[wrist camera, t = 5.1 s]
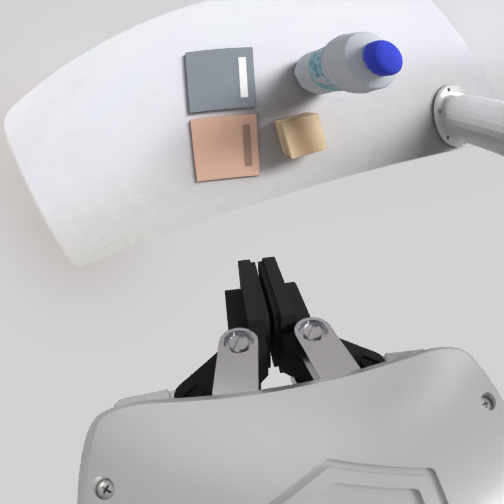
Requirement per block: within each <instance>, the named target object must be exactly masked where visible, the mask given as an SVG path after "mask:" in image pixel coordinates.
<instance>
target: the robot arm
mask: <svg viewBox="0 0 504 504" xmlns="http://www.w3.org/2000/svg"><path fill="white" fill-rule="evenodd" d="M434 121H435V125H436V128H437V131H438V133H439V135H440V136H441V138H442V139H443V140H444V141H445V142H446V143H447V144H448V145H451V146H453V147H461V146H464V145H465V144H466V143H469V144H472V145H475V146H478V147H481V148H484V149H486V150H489V151H492V152H495V153H497V154H499V155H502V156H504V101H503V100H499V99H494V98H488V97H483V96H476V95H470V94H467V93H466V92H465V91H464V90H463V89H462V88H461V87H459V86H456V85H445V86H443V87H442V88H441V89H440V90H439V91H438V93H437V95H436V98H435V102H434ZM238 267H239V277H240V286H241V287H240V288H241V289H235V290H226V291H225V297H226V309H227V320H228V331H227V332H225V333H224V334H223V335H222V336H221V338H220V341H219V347H218V352H217V353H216V354H215V355H214V356H213V357H211V358H210V359H209V360H208V361H207V362H206V363H205V364H203V365H202V366H201V367H200V368H199V369H198V370H197V371H195V372H194V373H193V374H192V375H191V376H190V377H188V378H187V379H186V380H185V381H184V382H182V383H181V384H180V385H179V387H177V389H176V390H174V391H170V392H169V391H168V390H163V391H158V392H154V393H149V394H144V395H139V396H134V397H129V398H124V399H121V400H119V401H118V402H117V403H116V404H115V405H114V407H113V408H111V409H109V410H106V411H105V412H103V413H101V414H100V415H99V416H97V417H96V418H95V420H94V421H93V423H92V424H91V426H90V428H89V430H88V433H87V436H86V440H85V443H84V448H83V452H82V458H81V464H80V471H79V483H78V500H77V504H504V401H503V399H502V397H501V396H500V394H499V393H498V391H497V389H496V387H495V386H494V384H493V383H492V382H491V380H490V378H489V377H488V376H487V374H486V373H485V371H484V370H483V369H482V368H481V366H480V365H479V364H478V363H477V361H476V360H475V359H474V358H473V357H472V356H471V355H470V354H469V353H467V352H466V351H464V350H462V349H459V348H453V347H440V348H431V349H427V350H414V351H405V352H395V353H386V354H385V356H381V355H380V354H378V353H376V352H374V351H371V350H368V349H366V348H363V347H360V346H358V345H355V344H353V343H350V342H348V341H345V340H342V339H340V338H338V336H337V335H336V333H335V332H334V330H333V329H332V328H331V326H330V325H329V324H328V323H327V322H326V321H324V320H323V319H320V318H315V317H310V315H309V313H308V311H307V308H306V306H305V303H304V301H303V299H302V297H301V294H300V292H299V290H298V288H297V285H296V284H295V282H290V283H284V280H283V277H282V275H281V272H280V270H279V267H278V265H277V262H276V260H275V257H268V258H263V259H262V261H260V262H258V272H259V276H258V272H257V269H256V265H255V262H250V260H242V261H238ZM270 352H271V356H272V360H273V364H274V367H276V366H279V370H280V373H283V372H284V373H286V374H288V375H290V376H291V381H292V383H293V385H287V386H282V387H276V388H269V389H263V390H261V383H262V381H263V380H264V379H265V378H266V377H267V376H268V368H270V367H271V359H270V358H271V357H270Z"/></svg>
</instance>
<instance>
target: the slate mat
mask: <svg viewBox="0 0 504 504" xmlns="http://www.w3.org/2000/svg"><path fill="white" fill-rule="evenodd" d="M185 56H186V72H187V86H188V98H189V110H190V113H193V112H201V111H210V110H220V109H231V108H245V107H256V98H255V81H254V66H253V50H252V47H246V48H226V49H214V50H204V51H195V52H187V53H185Z"/></svg>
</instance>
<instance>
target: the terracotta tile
mask: <svg viewBox="0 0 504 504" xmlns="http://www.w3.org/2000/svg"><path fill="white" fill-rule="evenodd" d="M190 121H191V131H192V141H193V150H194V159H195V168H196V176H197V181H205V180H214V179H223V178H233V177H243V176H255V175H260V170H259V151H258V132H257V115H256V114H242V115H229V116H218V117H209V118H200V119H192V120H190Z"/></svg>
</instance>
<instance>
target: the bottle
mask: <svg viewBox="0 0 504 504" xmlns="http://www.w3.org/2000/svg"><path fill="white" fill-rule="evenodd" d="M401 67H402V56H401V53H400V51H399V50H398V49H397V48H396V46H394V45H393V44H392V43H390V42H388V41H384V40H383V39H381V38H380V37H378V36H377V35H374V34H372V33H368V32H357V33H351V34H343V35H340V36H338V37H336V38H335V39H333V40H331V41H330V42H329V43H328V44H327V45H326V46H325V47H323V48H321V49H319V50H317V51H313V52H310V53H308V54H306V55H304V56H302V57H301V58H300V59H299V60H298V62H297V64H296V67H295V70H294V74H295V76H296V78H297V80H298V82H299V85H300V86H301V87H302V88H303V89H305V90H307V91H309V92H312V93H315V94H325V93H330V92H334V91H347V92H351V93H368V92H371V91H374V90H378V89H381V88H385V87H386V86H388V85H389V84H390V83H391V82H392V81H393V79H394V77H395V75H396V73H398V72H399V71H400V70H401Z"/></svg>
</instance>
